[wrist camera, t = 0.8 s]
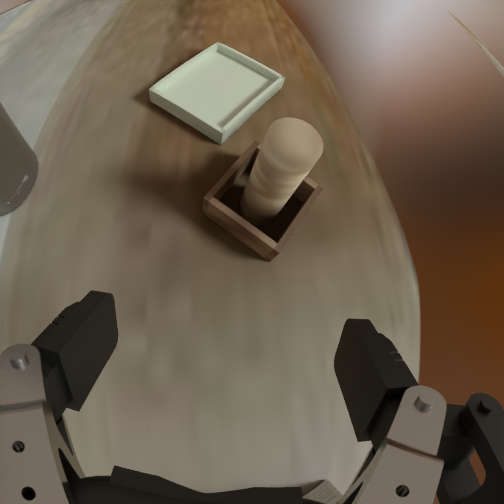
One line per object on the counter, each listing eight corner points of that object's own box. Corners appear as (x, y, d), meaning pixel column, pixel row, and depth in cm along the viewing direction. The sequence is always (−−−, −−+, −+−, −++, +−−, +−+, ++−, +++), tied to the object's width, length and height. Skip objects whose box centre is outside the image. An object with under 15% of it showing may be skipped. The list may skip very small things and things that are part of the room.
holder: (201, 212, 29) (203, 197, 26) (248, 158, 32) (255, 140, 29) (269, 261, 30) (279, 252, 26) (310, 202, 32) (322, 188, 29)
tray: (150, 101, 32) (148, 88, 30) (216, 53, 36) (218, 41, 34) (220, 145, 32) (222, 133, 30) (280, 88, 36) (285, 77, 34)
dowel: (231, 209, 30) (255, 140, 19) (253, 182, 31) (286, 108, 20) (263, 232, 30) (306, 175, 19) (284, 204, 31) (332, 140, 20)
